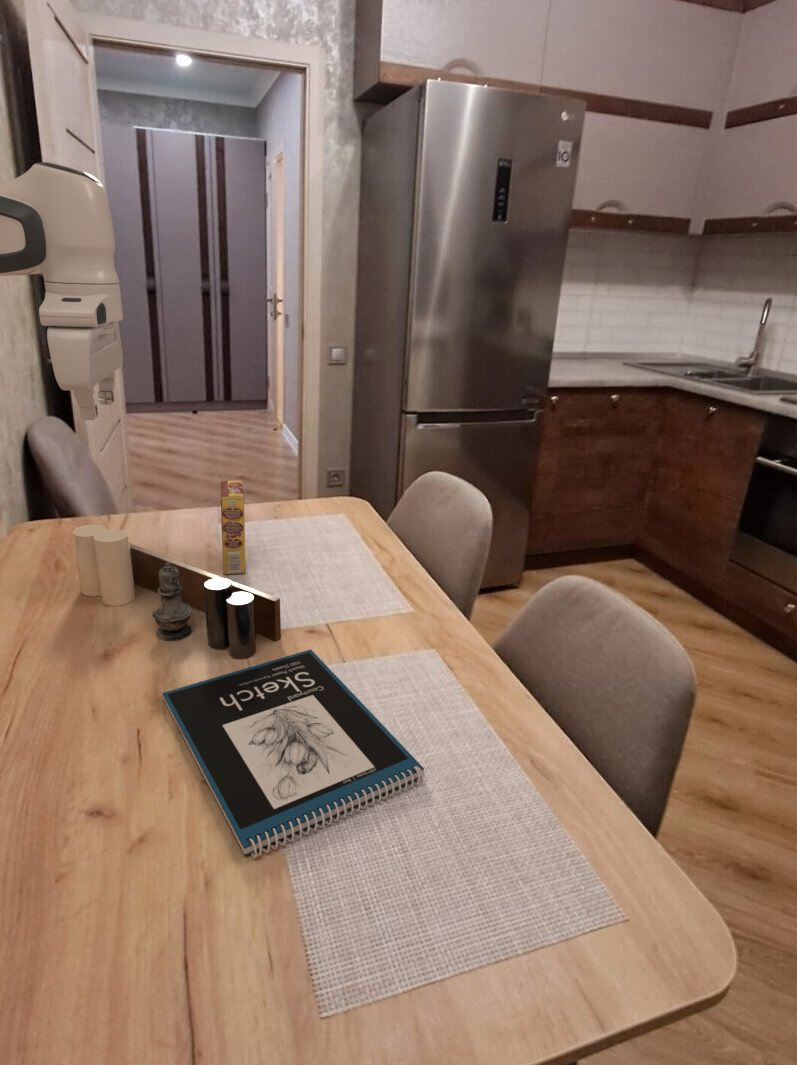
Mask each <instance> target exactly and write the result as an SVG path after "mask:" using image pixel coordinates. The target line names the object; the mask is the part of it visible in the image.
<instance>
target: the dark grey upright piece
mask: <svg viewBox="0 0 797 1065" xmlns="http://www.w3.org/2000/svg"><path fill="white" fill-rule="evenodd" d="M165 565H166V566H165V567H163V568H161V569H160V571H159V582H160V588H159V589H158V593H159V594H158V593H157V594H158V595H160V596H159V597H160V605H159V606H156V607H155V608H154V609H153V610H152V612H151V616H152V618H153V619H154V621H155V623H156V625H157V626H158V629H157V630H156V632H155V635H156V637H157V638H158V639H159V640H162V641H166V642H175V641H180V640H183V639H185V638H187V637H189V636H190V635H191V634H192V632H193V627H192V626H191V625H190V624H189V622H190V620H191V617H192V616H191V615H192V614H193V607H191V606H189V605H188V604H185V603H183V602H182V600H181V591H182V590H183V588H182V586H180V584H179V572H178V570H177V568H175V567H173V566H170V563H169V562H167V563H166V564H165Z"/></svg>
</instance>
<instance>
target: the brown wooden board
mask: <svg viewBox="0 0 797 1065" xmlns="http://www.w3.org/2000/svg"><path fill="white" fill-rule="evenodd" d="M129 544H130V552H131V561H132V569H133V577H134V585H137V586H139V587H142V588H144V589H147V590H149V591H151V592H154V593H155V594H158V595H160V594H159V593H158V589H159V588H160V582H159V571H160V569H161V568H163V567H165V566H166V565H165V564H166V563H167V562H169V563H170V566H173V567H175V568H177V570H178V572H179V584H180V586H182V588H183V590H182V591H181V600H182V602H183V603H185V604H188V605H189V606H191V607H192V609H196V610H198V611H201V612H203V613H205V614H206V612H205V599H204V583H205V582H206V581H207V580H209V579H213V578H224V577H223V576H220V575H217V574H215V573H212V572H210V571H206V570H204V569H201V568H198V567H195V566H194V565H190V564H187V563H185V562H182V561H179V560H177V559H173V558H171V557H169V556H166V555H163V554H160V553H157V552H156V551H152V550H149V549H147V548H144V547H141V546H138V545H135V544H133V543H131V542H129ZM229 580H230V581H231V582H232V593H235V592H248V593H251V594H252V595H253V596H254V604H255V628H256V635H259V636H262V637H263V638H267V639H269V640H271V641H273V642H278V641H279V640H280V639H282V630H281V628H282V626H281V625H282V624H281V623H282V622H281V598H280V597H277V596H274V595H272V594H269V593H266V592H264V591H261V590H258V589H255V588H252V587H251V586H248V585H244V584H242V583H239V582H236V581H234V580H231V579H229Z"/></svg>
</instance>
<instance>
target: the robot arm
mask: <svg viewBox="0 0 797 1065" xmlns="http://www.w3.org/2000/svg"><path fill="white" fill-rule="evenodd" d="M115 253H116V239H115V232H114V224H113V219H112V213H111V207H110V203H109V198H108V195H107V193H106V190H105V188H104V185H103V183H102V182H101V181H99V180H98V178H96V177H95V176H94V175H92V173H91V174H90V173H89V172H85V171H83V170H79V169H75V168H73V167H69V166H65V165H61V164H57V163H52V162H48V161H40V162H36V163H34V164H33V165H32V166H31V167H30V168H29V169H28V170H27V171H26V172H24V173H23V174H21V175H19V176H18V177H16V178H14V179H12V180H10V181H7V182H4V183H2V184H0V276H3V277H8V276H9V277H10V276H29V275H33V276H41V277H43V282H44V290H45V292H44V299H43V301H42V303H41V305H40V306H39V308H38V315H39V322H40V324H41V325H42V326H43V327H48V328H47V330H46V338H47V344H48V350H49V356H50V361H51V365H52V370H53V374H54V378H55V380H56V383H57V385H58V386H59V388H60V389H61V390H62V391H73V392H72V393H73V396H74V399H75V401H76V403H77V406H78V408H79V414H80V418H81V420H83V421H94V420H96V419H97V418H98V416H99V413H98V405H97V404H96V403H95V398H94V394H95V389H94V387H95V386H96V385H98V392H97V396H98V400H99V401H98V403H99V404H100V405H102V406H108V405H109V406H110V405H112V404H114V402H115V392H114V391H115V382H116V381H115V380H116V375H115V371H117V370H118V369H120V368H121V367H122V366H123V363H124V353H123V346H122V339H121V333H120V327H119V322H122V321H123V320H124V313H123V312H124V311H123V302H122V296H121V294H122V293H121V284H120V279H119V276H118V273H117V271H116V267H115Z"/></svg>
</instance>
